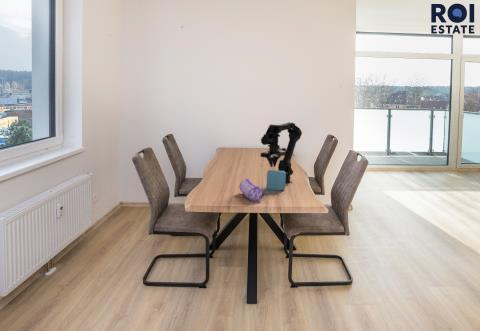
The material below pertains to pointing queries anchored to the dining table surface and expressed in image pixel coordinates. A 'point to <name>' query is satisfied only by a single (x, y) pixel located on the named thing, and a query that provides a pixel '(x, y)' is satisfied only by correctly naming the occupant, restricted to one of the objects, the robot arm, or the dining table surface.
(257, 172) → the dining table surface
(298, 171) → the dining table surface
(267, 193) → the felt mat
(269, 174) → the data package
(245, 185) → the pencil case
